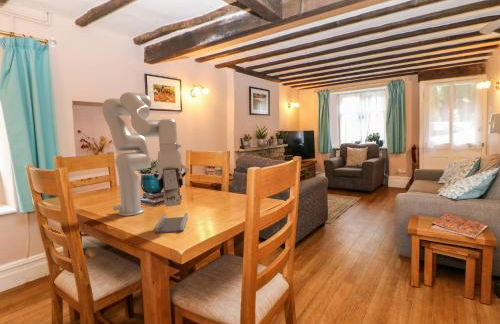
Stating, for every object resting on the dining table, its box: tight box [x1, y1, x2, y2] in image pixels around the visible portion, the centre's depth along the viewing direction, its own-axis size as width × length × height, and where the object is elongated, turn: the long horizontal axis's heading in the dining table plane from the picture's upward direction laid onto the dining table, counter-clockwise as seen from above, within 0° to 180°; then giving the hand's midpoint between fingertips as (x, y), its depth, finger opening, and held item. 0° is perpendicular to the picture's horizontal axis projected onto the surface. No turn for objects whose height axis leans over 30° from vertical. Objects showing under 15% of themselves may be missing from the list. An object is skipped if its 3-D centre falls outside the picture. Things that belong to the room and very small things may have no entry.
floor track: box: [154, 212, 189, 234], centre depth 124 cm, size 11×18×3 cm, turn 7°
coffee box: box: [162, 168, 181, 208], centre depth 122 cm, size 9×6×16 cm
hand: (171, 187), depth 122 cm, fingers closed on coffee box, 7 cm apart
